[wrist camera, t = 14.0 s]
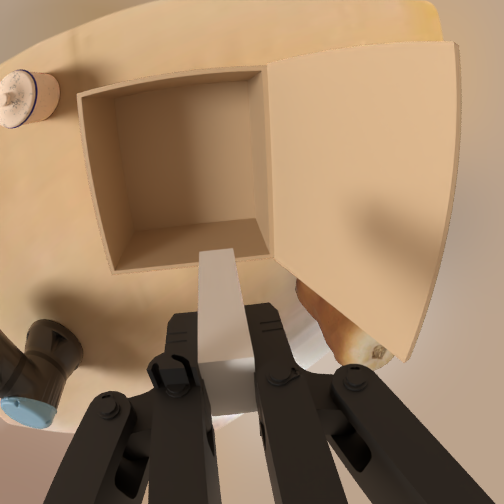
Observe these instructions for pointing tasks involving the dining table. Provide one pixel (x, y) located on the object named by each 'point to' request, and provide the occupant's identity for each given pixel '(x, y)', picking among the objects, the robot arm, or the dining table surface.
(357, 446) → the robot arm
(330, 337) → the butternut squash
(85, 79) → the dining table surface
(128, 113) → the carton
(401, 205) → the carton lid
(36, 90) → the teacup with lid
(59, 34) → the dining table surface
